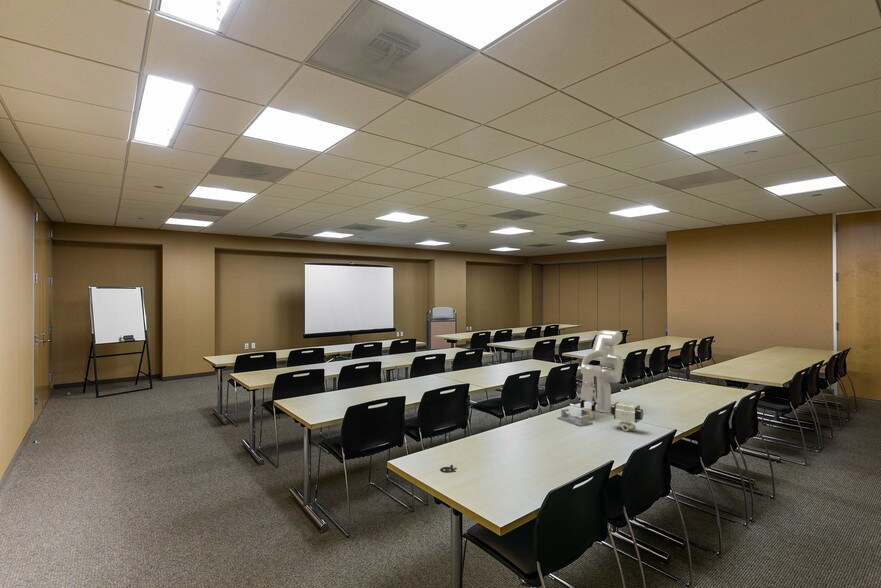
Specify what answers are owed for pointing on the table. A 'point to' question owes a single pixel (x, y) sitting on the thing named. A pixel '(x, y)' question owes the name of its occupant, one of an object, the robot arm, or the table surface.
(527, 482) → the table surface
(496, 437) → the table surface
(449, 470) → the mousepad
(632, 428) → the ball valve
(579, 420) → the shaft stand
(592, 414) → the coupler
